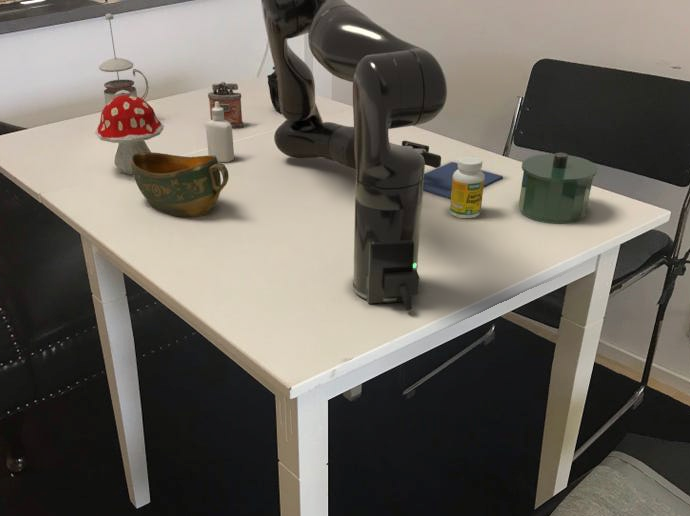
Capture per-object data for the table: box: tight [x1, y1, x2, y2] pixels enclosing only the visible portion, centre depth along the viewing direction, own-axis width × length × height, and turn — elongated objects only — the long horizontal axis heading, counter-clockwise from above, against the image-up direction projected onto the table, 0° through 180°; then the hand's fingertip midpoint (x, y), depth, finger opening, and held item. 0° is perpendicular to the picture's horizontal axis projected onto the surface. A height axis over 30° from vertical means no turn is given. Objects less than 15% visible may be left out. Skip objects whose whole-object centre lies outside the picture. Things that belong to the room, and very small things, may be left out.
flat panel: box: [423, 161, 504, 200], centre depth 148 cm, size 12×15×1 cm
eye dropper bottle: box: [205, 102, 235, 163], centre depth 160 cm, size 4×6×12 cm
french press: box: [98, 13, 149, 106], centre depth 180 cm, size 10×12×25 cm
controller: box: [266, 66, 281, 113], centre depth 187 cm, size 4×12×10 cm, turn 22°
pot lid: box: [521, 152, 599, 182], centre depth 130 cm, size 12×12×3 cm
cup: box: [131, 151, 230, 218], centre depth 140 cm, size 13×20×10 cm, turn 28°
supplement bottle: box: [449, 155, 485, 219], centre depth 133 cm, size 5×5×10 cm
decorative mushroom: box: [94, 95, 165, 175], centre depth 157 cm, size 14×14×15 cm
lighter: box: [207, 81, 244, 129], centre depth 180 cm, size 8×3×10 cm, turn 73°
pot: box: [518, 171, 594, 224], centre depth 133 cm, size 11×11×8 cm
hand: (425, 168), depth 138 cm, fingers open, 8 cm apart
